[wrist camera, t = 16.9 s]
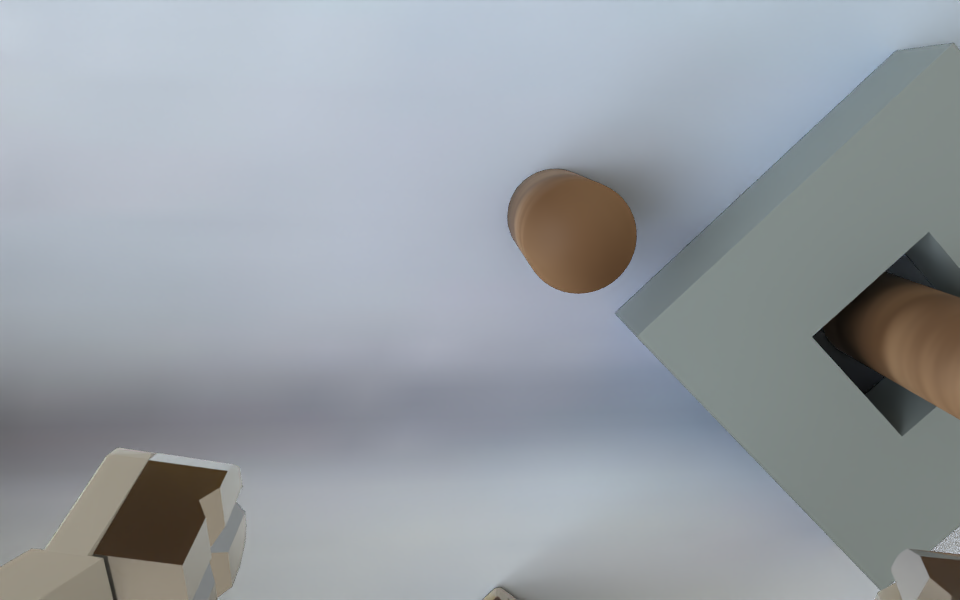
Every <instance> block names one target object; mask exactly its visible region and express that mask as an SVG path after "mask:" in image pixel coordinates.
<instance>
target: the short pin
mask: <svg viewBox="0 0 960 600" xmlns="http://www.w3.org/2000/svg"><path fill="white" fill-rule="evenodd" d="M507 218H508V227H509V230H510V233H511V236H512V238H513V240H514V241H515V243H516V244H517V246H518V247H519V249H520V250H521V252H522V253H523V255H524V257H525V258H526V260H527V261H528V263H529V264H530V266H531V267H532V269H533V270H534V272H535V273H536V274H537V275H538V276H539V278H541V279H542V280H543V281H544V282H545V283H547V284H548V285H550V286H551V287H553V288H555V289H558V290H560V291H563V292H568V293H578V294H579V293H588V292H593V291H596V290H599V289H601V288H604V287H606V286H607V285H609V284H611V283H612V282H613V281H615V280H616V279H617V278H618V277H619V276H620V275H621V274H622V273H623V272H624V270H625V269H626V268H627V266H628V264H629V263H630V261H631V259H632V256H633V254H634V250H635V246H636V239H637V235H636V224H635V220H634V217H633V214H632V212H631V210H630V208H629V207H628V205H627V203H626V202H625V201H624V200H623V198H622V197H621V196H620V195H619V194H617V193H616V192H615V191H613V190H612V189H611V188H609V187H607V186H605V185H602V184H600V183H598V182H595V181H593V180H590V179H588V178H585V177H583V176H581V175H578V174H576V173H573V172H570V171H567V170H563V169H548V170H543V171H540V172H537V173H535V174H533V175H531V176H530V177H528V178H527V179H525V180H524V181H523V182H522V183H521V184H520V185H519V186H518V187H517V189H516V190H515V192H514V194H513V196H512V197H511V200H510V203H509V207H508V215H507Z"/></svg>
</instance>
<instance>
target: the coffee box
mask: <svg viewBox="0 0 960 600" xmlns="http://www.w3.org/2000/svg"><path fill="white" fill-rule="evenodd" d="M483 600H517V599H516V598H514V597H513V596H512V595H510V594H509V593H508V592H506V591H505V590H504V589H502V588H494V589H493V590H492V591H491V592H490V593H489V594H488V595H487V596H486V597H485V598H484V599H483Z"/></svg>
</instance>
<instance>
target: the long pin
mask: <svg viewBox="0 0 960 600" xmlns="http://www.w3.org/2000/svg"><path fill="white" fill-rule="evenodd" d="M823 330H824V333H825V335H826V337H827V339H828V340H829V341H830V343H831V344H832V345H833V346H834V347H835V348H837V349H838V350H840V351H841V352H843V353H845V354H847V355H848V356H850V357H852V358H854V359H855V360H857V361H859V362H860V363H862V364H864V365H866V366H867V367H869V368H871V369H873V370H874V371H876V372H878V373H880V374H881V375H883V376H885V377H886V378H888V379H890V380H892V381H893V382H895V383H897V384H899V385H900V386H902V387H904V388H906V389H907V390H909V391H911V392H912V393H914V394H916V395H918V396H919V397H921V398H923V399H925V400H926V401H928V402H930V403H931V404H933V405H935V406H937V407H938V408H940V409H942V410H944V411H945V412H947V413H949V414H951V415H952V416H954V417H956V418H957V419H959V420H960V297H957V296H954V295H951V294H948V293H945V292H942V291H939V290H936V289H934V288H931V287H928V286H925V285H922V284H919V283H916V282H913V281H910V280H908V279H905V278H902V277H899V276H896V275H893V274H890V273H887V272H884V273H882V274H881V275H880V276H879V277H878V278H877V279H876V280H875V281H874V282H872V283H871V284H870V285H869V286H868V287H867V288H866V289H865V290H864V291H862V292H861V293H860V294H859V295H858V296H857V297H856V298H855V299H854V300H852V301H851V302H850V303H849V304H848V305H847V306H846V307H845V308H844V309H842V310H841V311H840V312H839V313H838V314H837V315H836V316H835V317H833V318H832V319H831V320H830V321H829V322H828V323H827V324H826V325H825V326H823Z"/></svg>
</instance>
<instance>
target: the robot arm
mask: <svg viewBox="0 0 960 600" xmlns="http://www.w3.org/2000/svg"><path fill="white" fill-rule="evenodd" d="M242 487H243V485H242V478H241V471H240V467H238V466H237V465H235V464H228V463H222V462H215V461H209V460H202V459H195V458H189V457H182V456H176V455H169V454H162V453H151V452H145V451H138V450H131V449H125V448H117V449H115V450H114V451H112V452H111V453H110V454H108V455H107V456H106V457H105V459H104V460H103V462H102V463H101V465H100V466H99V468H98V469H97V471H96V472H95V474H94V475H93V477H92V478H91V480H90V481H89V483H88V484H87V486H86V487H85V489H84V490H83V492H82V493H81V495H80V496H79V498H78V499H77V501H76V502H75V504H74V505H73V507H72V508H71V510H70V511H69V513H68V514H67V516H66V517H65V519H64V520H63V522H62V524H61V525H60V527H59V528H58V530H57V531H56V533H55V534H54V536H53V537H52V539H51V540H50V542H49V543H48V545H47V546H46V548H45V549H44V550H42V549H33V548H32V549H30V550H28V551H27V552H25V553H23V554H21V555H20V556H18V557H16V558H15V559H13V560H11V561H10V562H8V563H6V564H4V565H3V566H1V567H0V600H217V597H219V596H220V595H221V594H223V593H224V592H226V591H227V590H228V589H230V588H231V587H232V586H233V583H234V581H235V578H236V575H237V573H238V570H239V567H240V564H241V559H242V555H243V551H244V546H245V539H246V515H245V511H244V510H243V509H242V508H241V507H240V506H239V505H238V503H237V502H236V501H237V498H238V496H239V494H240V491H241V489H242ZM891 571H892V574H893V576H894V579H895V582H896V583H894V584H892V585H890V586H889V587H887V588H885V589H883V590H881V591H879V592H878V593H877V595H876V597H875V599H874V600H960V554H951V553H943V552H934V551H925V550H917V549H906V550H905V551H903V552H902V553H900V554H899V555H898V556H897V558H896V560H895V561H894V563H893V565H892V567H891Z"/></svg>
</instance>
